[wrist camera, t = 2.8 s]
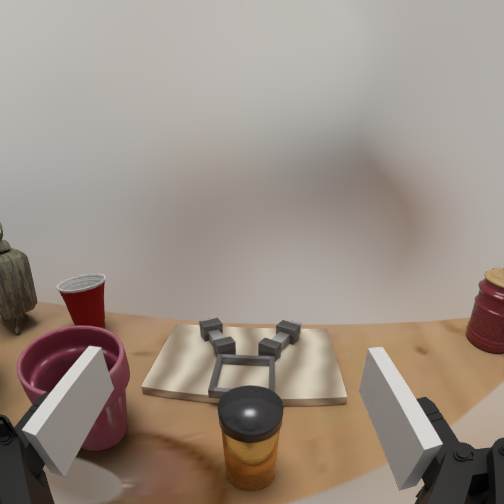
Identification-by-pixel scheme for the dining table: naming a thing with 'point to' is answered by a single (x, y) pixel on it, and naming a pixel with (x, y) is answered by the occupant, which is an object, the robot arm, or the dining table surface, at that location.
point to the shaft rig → (247, 363)
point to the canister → (488, 313)
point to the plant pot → (62, 359)
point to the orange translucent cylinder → (250, 435)
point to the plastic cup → (85, 299)
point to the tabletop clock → (15, 284)
